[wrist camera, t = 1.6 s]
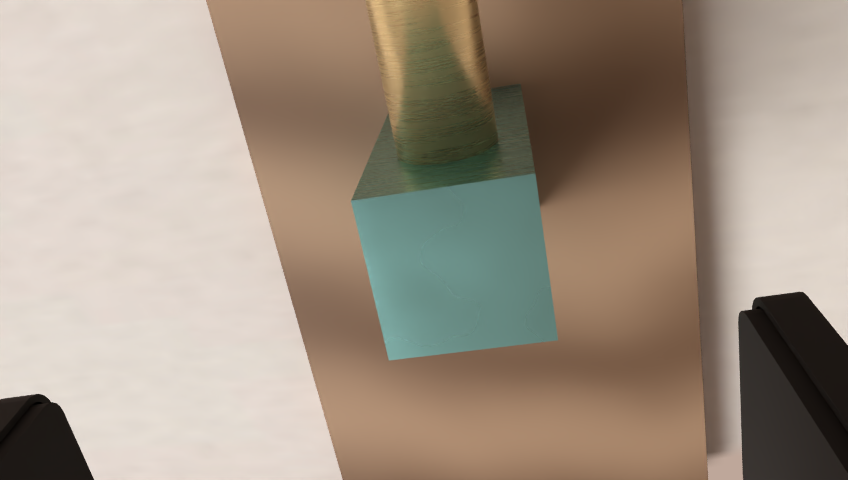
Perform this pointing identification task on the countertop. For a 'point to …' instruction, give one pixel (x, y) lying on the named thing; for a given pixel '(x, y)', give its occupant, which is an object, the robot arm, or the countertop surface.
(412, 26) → the brass rod with block
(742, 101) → the countertop surface
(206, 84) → the countertop surface
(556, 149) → the walnut board
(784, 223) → the countertop surface
